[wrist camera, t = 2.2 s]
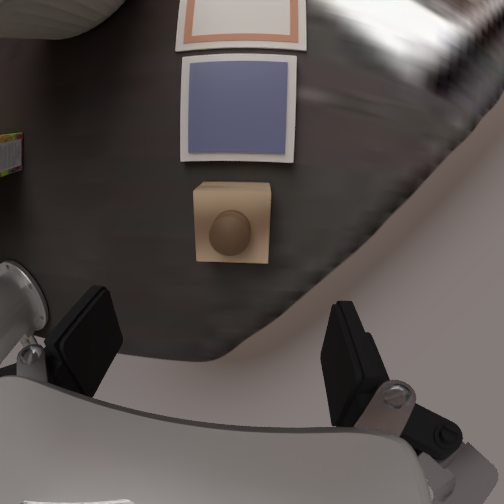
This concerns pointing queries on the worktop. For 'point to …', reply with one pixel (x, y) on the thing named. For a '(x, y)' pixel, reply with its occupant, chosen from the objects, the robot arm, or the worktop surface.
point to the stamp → (232, 221)
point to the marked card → (241, 24)
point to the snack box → (10, 153)
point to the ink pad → (238, 107)
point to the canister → (53, 17)
